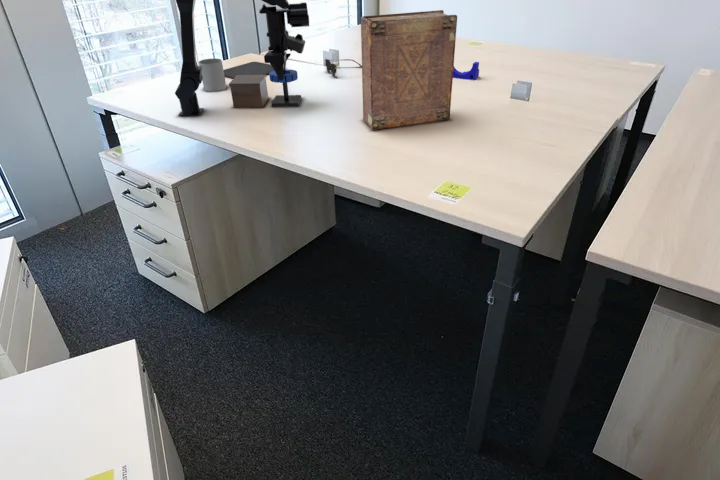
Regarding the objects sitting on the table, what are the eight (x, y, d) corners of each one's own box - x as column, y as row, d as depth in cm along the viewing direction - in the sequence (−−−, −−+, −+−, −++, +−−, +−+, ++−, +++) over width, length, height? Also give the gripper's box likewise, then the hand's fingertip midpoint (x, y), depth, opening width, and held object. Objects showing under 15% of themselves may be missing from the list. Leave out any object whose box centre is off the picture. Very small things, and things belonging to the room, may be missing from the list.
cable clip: (478, 77, 187) (480, 61, 184) (475, 80, 184) (476, 64, 181) (449, 73, 192) (450, 58, 189) (445, 76, 189) (446, 61, 185)
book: (437, 111, 156) (444, 9, 139) (449, 120, 148) (458, 14, 132) (362, 120, 150) (360, 16, 133) (371, 130, 143) (370, 21, 126)
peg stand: (297, 106, 163) (295, 83, 159) (271, 106, 163) (268, 84, 159) (301, 98, 170) (299, 76, 166) (276, 98, 171) (273, 76, 166)
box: (263, 107, 163) (259, 83, 158) (232, 108, 163) (228, 83, 159) (269, 98, 171) (266, 74, 167) (240, 98, 172) (236, 75, 167)
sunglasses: (325, 70, 200) (324, 58, 198) (360, 68, 206) (361, 56, 203) (335, 79, 190) (335, 66, 187) (372, 76, 195) (373, 64, 192)
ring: (296, 82, 158) (295, 75, 157) (268, 83, 158) (267, 76, 157) (298, 75, 166) (298, 68, 165) (272, 76, 166) (271, 69, 165)
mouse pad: (245, 81, 190) (245, 80, 190) (213, 73, 200) (212, 72, 200) (286, 68, 205) (286, 67, 205) (254, 62, 215) (253, 61, 215)
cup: (220, 92, 179) (215, 64, 173) (200, 91, 180) (194, 63, 175) (230, 85, 186) (225, 58, 180) (210, 84, 187) (205, 58, 182)
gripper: (297, 33, 142) (302, 86, 151) (305, 22, 157) (309, 71, 166) (260, 34, 142) (267, 87, 151) (272, 23, 158) (277, 71, 167)
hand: (282, 78), depth 159 cm, fingers closed on ring, 2 cm apart
